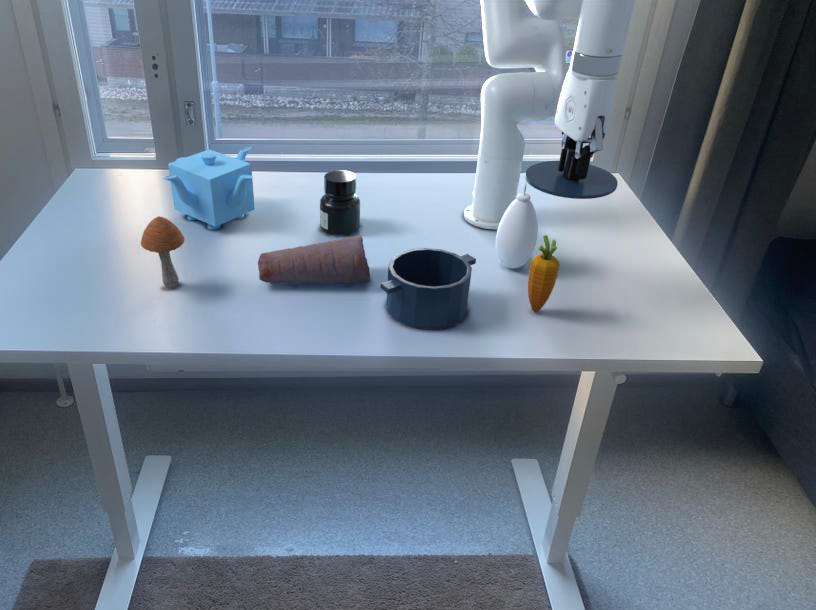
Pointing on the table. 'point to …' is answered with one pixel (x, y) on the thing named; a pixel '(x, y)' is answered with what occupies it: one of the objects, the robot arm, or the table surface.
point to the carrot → (542, 275)
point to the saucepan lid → (559, 185)
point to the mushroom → (163, 246)
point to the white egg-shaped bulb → (517, 232)
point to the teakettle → (212, 186)
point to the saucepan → (428, 287)
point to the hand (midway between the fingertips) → (571, 173)
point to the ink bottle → (340, 204)
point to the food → (317, 263)
